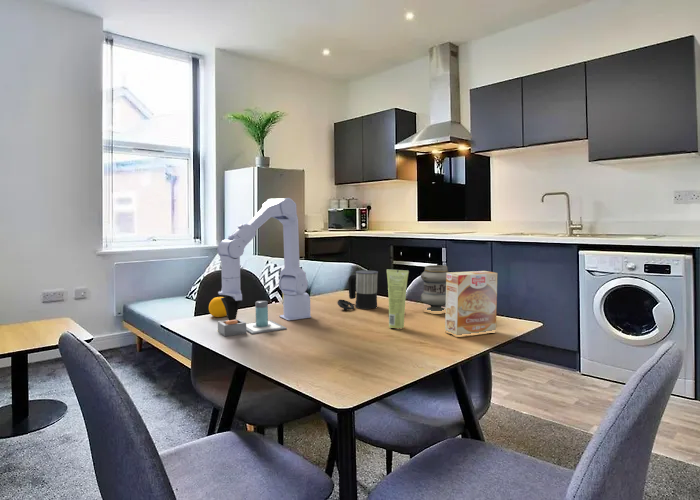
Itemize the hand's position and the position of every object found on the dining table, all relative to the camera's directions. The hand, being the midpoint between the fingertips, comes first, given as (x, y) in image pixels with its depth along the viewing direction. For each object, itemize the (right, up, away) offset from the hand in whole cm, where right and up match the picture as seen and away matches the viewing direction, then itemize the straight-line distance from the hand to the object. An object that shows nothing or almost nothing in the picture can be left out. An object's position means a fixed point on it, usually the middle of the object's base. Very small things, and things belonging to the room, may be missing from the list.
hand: (231, 319), depth 145 cm
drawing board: (+8, -4, +7) cm, 11 cm away
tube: (+53, -4, +6) cm, 54 cm away
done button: (0, -3, 0) cm, 3 cm away
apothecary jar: (+71, -2, +32) cm, 78 cm away
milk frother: (+41, -2, +39) cm, 57 cm away
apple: (-11, -3, +24) cm, 27 cm away
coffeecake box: (+76, -5, -1) cm, 76 cm away
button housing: (0, -4, 0) cm, 4 cm away
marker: (+8, -3, +7) cm, 11 cm away
